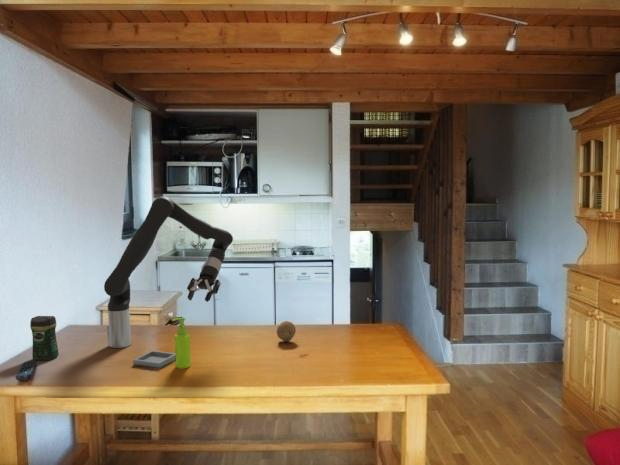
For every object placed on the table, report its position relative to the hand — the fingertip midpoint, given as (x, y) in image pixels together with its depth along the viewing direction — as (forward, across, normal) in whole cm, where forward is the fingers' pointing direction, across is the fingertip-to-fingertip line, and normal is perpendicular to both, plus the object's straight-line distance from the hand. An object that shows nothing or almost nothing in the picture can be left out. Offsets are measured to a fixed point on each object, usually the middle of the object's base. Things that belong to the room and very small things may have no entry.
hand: (197, 300), depth 207 cm
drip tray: (+26, -13, +8) cm, 31 cm away
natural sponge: (-2, +29, +37) cm, 47 cm away
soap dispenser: (+27, 0, +8) cm, 28 cm away
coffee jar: (+34, -62, 0) cm, 71 cm away
